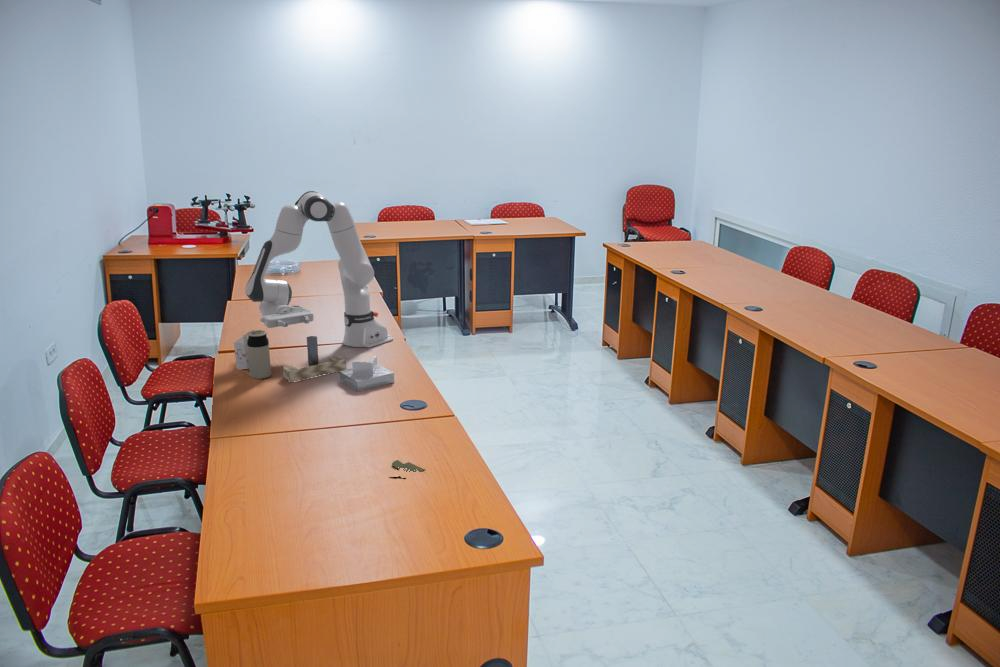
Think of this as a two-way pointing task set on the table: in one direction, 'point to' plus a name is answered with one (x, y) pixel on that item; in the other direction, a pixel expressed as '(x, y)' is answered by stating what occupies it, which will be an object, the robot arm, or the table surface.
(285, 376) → the notched beam
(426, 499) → the table surface
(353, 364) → the v block
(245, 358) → the ink cartridge box
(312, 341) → the steel axle
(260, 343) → the travel mug
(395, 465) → the olive green flat piece
